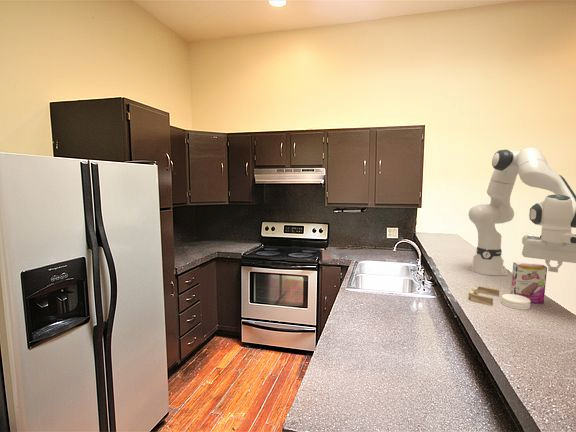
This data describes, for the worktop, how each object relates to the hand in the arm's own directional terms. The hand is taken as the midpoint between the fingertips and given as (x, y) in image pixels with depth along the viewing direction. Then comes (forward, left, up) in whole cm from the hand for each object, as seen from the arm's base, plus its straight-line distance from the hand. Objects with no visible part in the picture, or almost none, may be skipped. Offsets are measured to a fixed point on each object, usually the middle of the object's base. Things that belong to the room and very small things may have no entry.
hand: (553, 271), depth 125 cm
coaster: (0, -11, -17) cm, 20 cm away
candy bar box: (-9, -8, -17) cm, 21 cm away
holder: (0, -27, -17) cm, 32 cm away
